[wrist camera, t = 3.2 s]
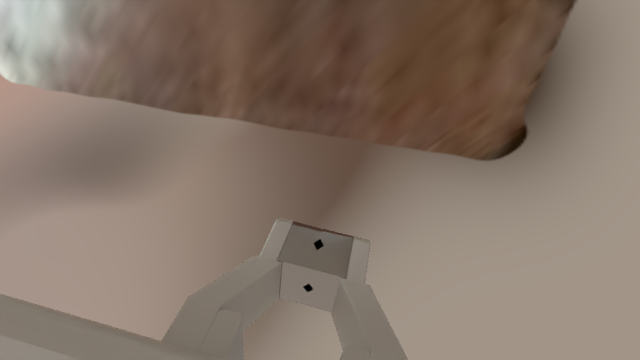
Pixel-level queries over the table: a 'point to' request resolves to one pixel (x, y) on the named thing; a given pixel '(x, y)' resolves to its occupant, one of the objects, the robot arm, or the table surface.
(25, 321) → the robot arm
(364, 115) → the table surface
